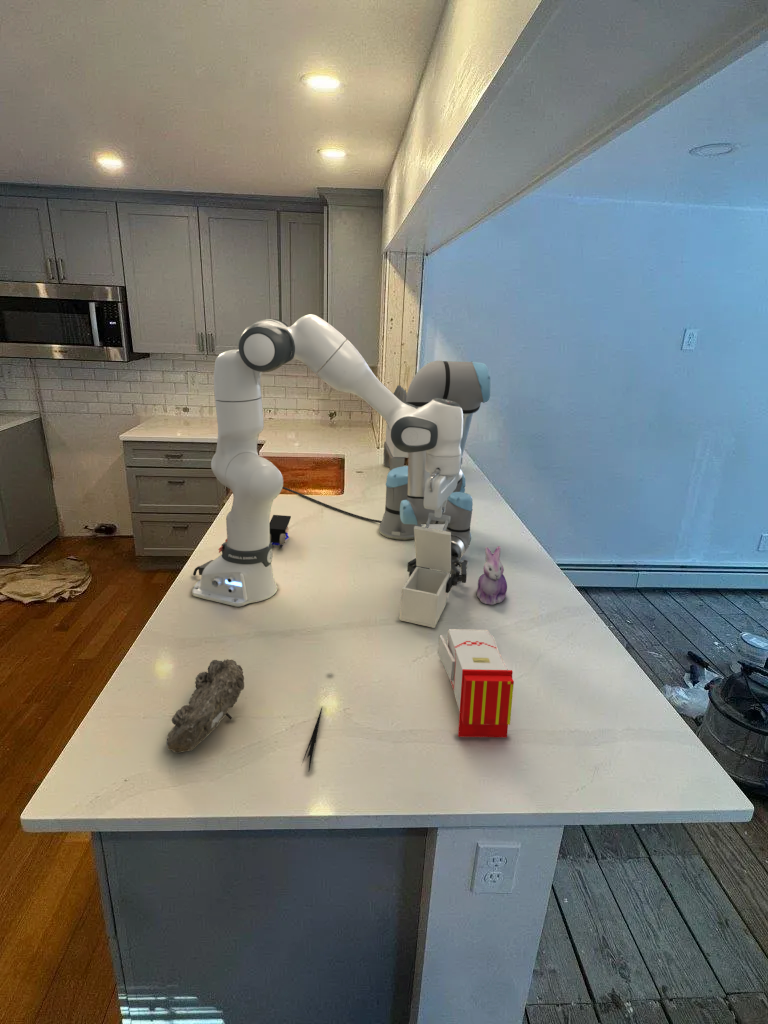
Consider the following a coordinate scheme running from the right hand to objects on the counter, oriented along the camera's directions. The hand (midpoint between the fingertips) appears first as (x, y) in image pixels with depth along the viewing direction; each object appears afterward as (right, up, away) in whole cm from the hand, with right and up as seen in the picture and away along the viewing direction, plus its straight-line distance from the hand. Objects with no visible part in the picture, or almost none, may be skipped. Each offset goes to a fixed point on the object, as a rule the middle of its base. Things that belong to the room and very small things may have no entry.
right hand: (428, 584), depth 150 cm
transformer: (+6, +38, +125) cm, 131 cm away
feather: (-24, -21, -41) cm, 52 cm away
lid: (+1, +9, -3) cm, 9 cm away
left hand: (+3, +18, -2) cm, 19 cm away
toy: (+6, -19, -31) cm, 37 cm away
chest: (-1, -7, -1) cm, 7 cm away
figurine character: (-47, +9, +38) cm, 61 cm away
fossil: (-45, -20, -42) cm, 64 cm away
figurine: (+18, -5, +8) cm, 21 cm away
